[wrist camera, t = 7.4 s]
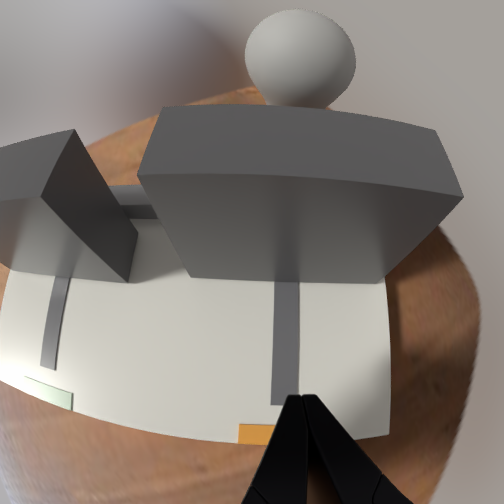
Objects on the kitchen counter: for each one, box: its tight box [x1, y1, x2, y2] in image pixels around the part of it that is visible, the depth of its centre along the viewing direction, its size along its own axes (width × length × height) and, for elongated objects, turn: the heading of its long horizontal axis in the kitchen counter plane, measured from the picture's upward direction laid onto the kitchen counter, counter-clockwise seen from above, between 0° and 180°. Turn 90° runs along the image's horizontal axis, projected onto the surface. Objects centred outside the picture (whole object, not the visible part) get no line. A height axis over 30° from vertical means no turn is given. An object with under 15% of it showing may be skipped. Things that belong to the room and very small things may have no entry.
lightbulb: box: [245, 9, 356, 110], centre depth 15 cm, size 6×6×11 cm
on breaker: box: [0, 129, 138, 283], centre depth 11 cm, size 3×10×8 cm, turn 87°
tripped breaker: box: [137, 104, 464, 284], centre depth 11 cm, size 3×10×8 cm, turn 87°
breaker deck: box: [0, 185, 391, 445], centre depth 14 cm, size 13×24×3 cm, turn 87°
